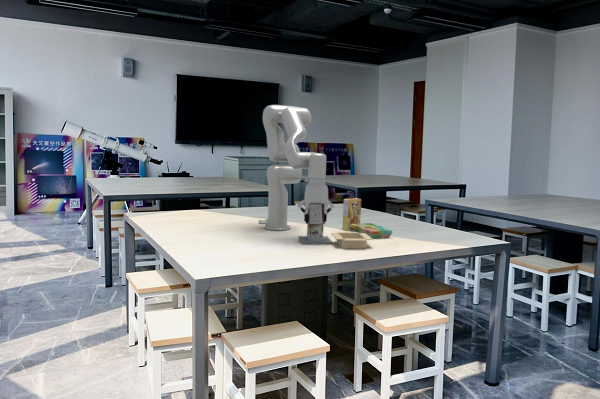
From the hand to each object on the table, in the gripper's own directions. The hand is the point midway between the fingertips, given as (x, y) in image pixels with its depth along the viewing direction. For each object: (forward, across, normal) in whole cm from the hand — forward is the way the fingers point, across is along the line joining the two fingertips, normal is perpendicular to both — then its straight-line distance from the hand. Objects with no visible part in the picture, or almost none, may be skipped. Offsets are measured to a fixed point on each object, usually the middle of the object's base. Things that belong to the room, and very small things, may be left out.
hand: (315, 222), depth 216 cm
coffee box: (+7, 0, 0) cm, 7 cm away
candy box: (+8, +23, +31) cm, 39 cm away
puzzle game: (+9, +29, +17) cm, 35 cm away
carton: (+8, +15, -7) cm, 18 cm away
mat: (+8, 0, 0) cm, 8 cm away
